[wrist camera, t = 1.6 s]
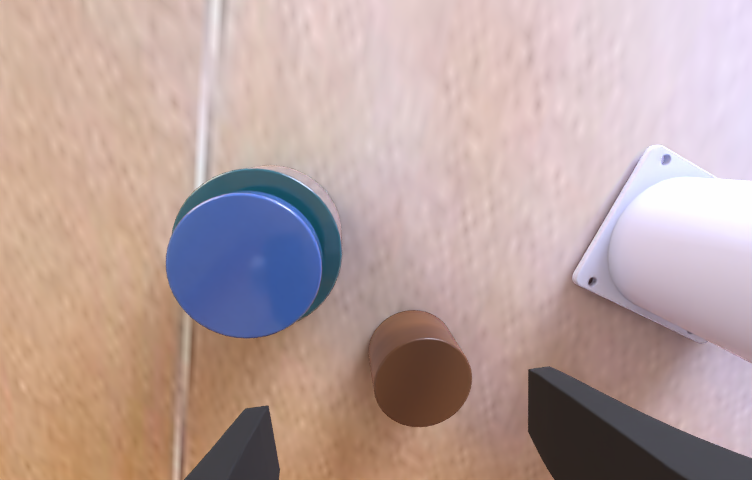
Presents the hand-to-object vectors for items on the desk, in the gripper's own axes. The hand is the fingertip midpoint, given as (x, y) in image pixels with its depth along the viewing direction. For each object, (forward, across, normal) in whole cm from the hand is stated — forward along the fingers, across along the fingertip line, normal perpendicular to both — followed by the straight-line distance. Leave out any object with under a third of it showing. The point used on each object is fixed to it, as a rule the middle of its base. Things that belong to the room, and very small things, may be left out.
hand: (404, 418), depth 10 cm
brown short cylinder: (+10, -2, +3) cm, 10 cm away
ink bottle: (+10, +4, -4) cm, 11 cm away
